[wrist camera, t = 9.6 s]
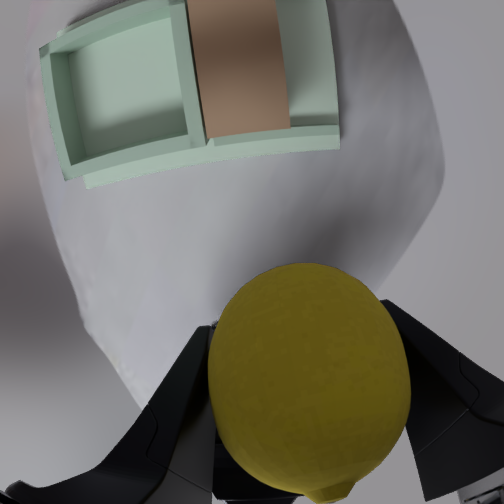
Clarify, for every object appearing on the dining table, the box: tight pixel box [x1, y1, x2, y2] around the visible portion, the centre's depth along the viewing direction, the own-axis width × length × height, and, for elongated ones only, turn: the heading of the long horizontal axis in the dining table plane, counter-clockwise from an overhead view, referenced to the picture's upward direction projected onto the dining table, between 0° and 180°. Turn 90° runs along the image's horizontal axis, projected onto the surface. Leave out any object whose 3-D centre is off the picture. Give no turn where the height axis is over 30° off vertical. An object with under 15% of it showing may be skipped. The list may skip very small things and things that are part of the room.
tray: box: [39, 0, 340, 189], centre depth 13 cm, size 12×17×3 cm
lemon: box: [208, 263, 411, 504], centre depth 7 cm, size 6×6×8 cm
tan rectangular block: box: [187, 0, 291, 139], centre depth 12 cm, size 8×4×3 cm, turn 7°
